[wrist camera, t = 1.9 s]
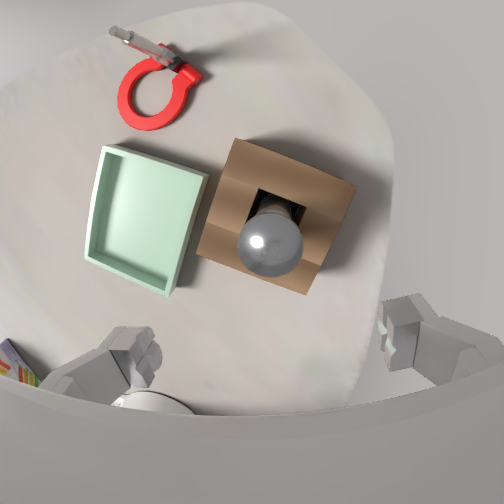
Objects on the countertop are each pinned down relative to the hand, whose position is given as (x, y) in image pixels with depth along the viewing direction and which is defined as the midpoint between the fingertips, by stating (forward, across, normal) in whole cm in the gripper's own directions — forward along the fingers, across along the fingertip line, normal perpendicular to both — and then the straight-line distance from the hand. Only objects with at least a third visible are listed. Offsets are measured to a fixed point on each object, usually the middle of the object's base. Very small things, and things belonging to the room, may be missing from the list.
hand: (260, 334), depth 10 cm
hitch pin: (+21, 0, 0) cm, 21 cm away
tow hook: (+21, +10, -15) cm, 28 cm away
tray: (+21, +15, -2) cm, 26 cm away
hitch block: (+21, 0, 0) cm, 21 cm away
